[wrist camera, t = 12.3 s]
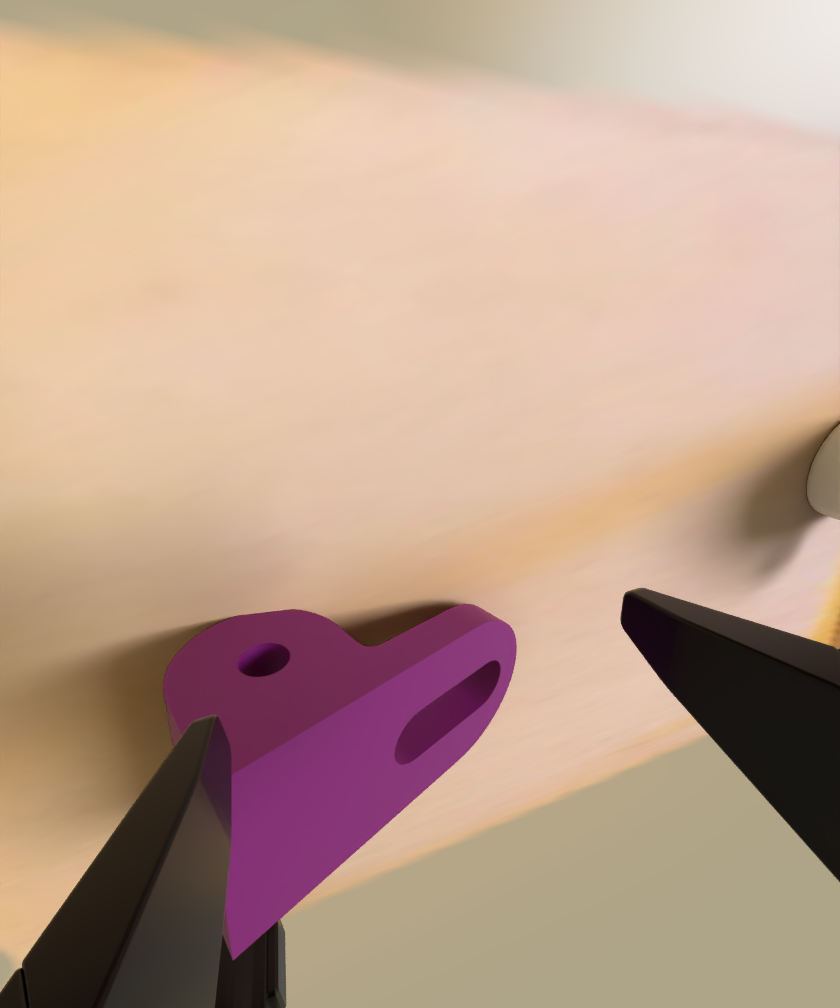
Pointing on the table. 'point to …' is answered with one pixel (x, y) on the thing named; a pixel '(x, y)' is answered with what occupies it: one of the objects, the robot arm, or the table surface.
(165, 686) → the mounting bracket
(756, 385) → the table surface
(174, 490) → the table surface
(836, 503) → the mug
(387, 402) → the table surface
